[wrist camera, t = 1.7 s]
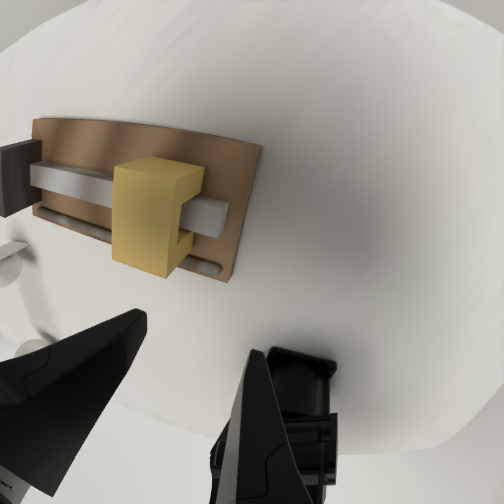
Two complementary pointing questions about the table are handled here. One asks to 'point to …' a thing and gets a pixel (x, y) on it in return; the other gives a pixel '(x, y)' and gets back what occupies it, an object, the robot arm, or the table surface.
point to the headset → (7, 271)
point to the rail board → (157, 144)
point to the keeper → (152, 213)
